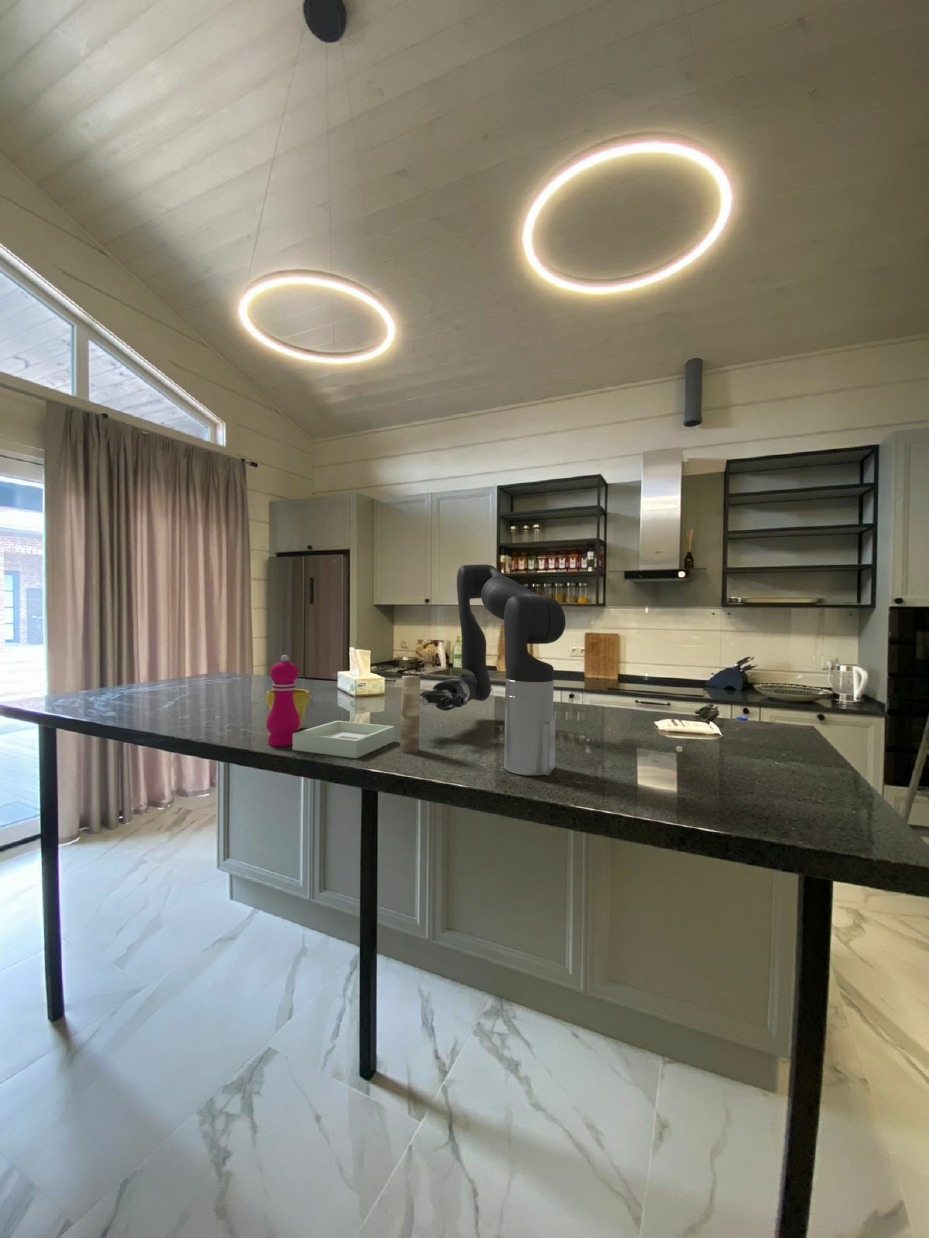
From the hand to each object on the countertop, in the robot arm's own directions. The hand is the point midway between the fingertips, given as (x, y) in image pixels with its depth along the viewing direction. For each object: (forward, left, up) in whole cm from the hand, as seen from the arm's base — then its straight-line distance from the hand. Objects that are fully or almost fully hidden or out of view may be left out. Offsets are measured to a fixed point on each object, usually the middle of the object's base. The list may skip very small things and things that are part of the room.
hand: (424, 702), depth 114 cm
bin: (+15, +9, -10) cm, 20 cm away
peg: (0, +7, -10) cm, 12 cm away
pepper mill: (+29, +13, -10) cm, 33 cm away
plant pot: (+38, +1, -10) cm, 39 cm away
